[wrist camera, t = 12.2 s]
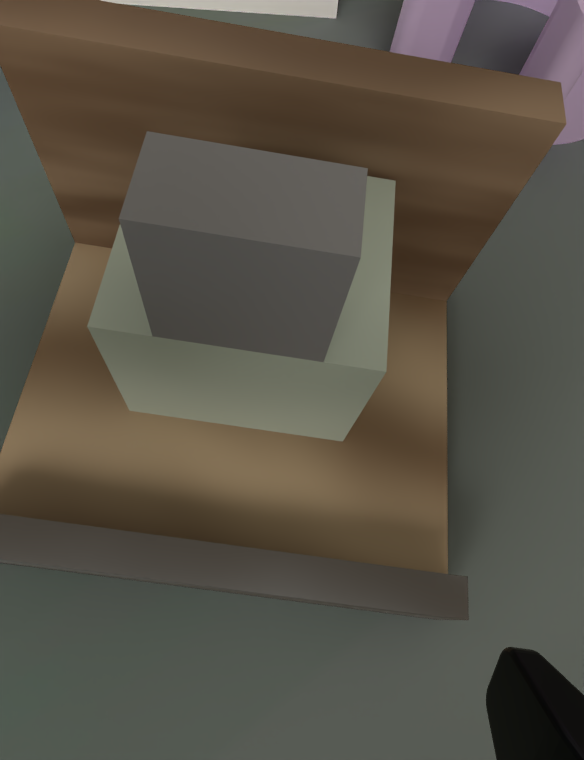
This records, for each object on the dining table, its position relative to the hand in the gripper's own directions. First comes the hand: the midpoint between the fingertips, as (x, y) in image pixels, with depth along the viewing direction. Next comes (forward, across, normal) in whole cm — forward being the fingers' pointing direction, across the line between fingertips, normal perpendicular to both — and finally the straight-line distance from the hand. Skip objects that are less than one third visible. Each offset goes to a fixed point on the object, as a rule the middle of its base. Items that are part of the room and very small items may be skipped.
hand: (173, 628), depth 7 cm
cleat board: (+12, 0, +2) cm, 12 cm away
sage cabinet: (+12, 0, 0) cm, 12 cm away
